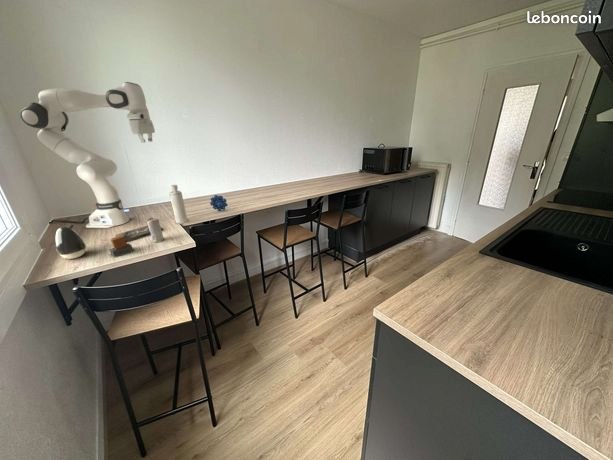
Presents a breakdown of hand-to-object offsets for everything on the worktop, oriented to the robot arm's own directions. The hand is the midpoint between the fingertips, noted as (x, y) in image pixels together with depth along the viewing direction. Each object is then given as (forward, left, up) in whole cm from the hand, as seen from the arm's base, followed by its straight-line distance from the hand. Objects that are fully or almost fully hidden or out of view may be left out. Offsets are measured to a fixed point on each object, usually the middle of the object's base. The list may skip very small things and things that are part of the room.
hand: (147, 142), depth 145 cm
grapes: (+32, +10, -48) cm, 59 cm away
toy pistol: (-7, -22, -48) cm, 53 cm away
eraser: (-5, -45, -48) cm, 66 cm away
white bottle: (+11, -6, -48) cm, 50 cm away
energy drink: (+7, -33, -48) cm, 59 cm away
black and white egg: (-26, -45, -48) cm, 71 cm away
